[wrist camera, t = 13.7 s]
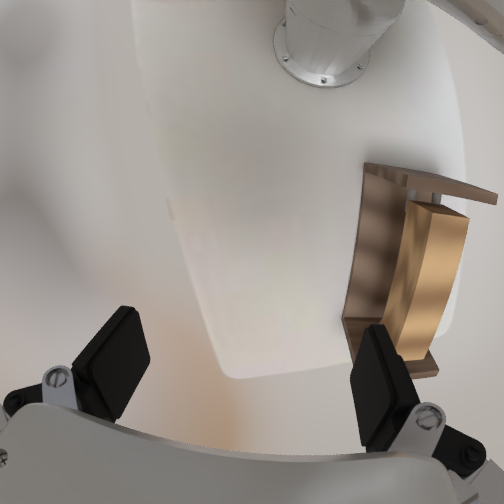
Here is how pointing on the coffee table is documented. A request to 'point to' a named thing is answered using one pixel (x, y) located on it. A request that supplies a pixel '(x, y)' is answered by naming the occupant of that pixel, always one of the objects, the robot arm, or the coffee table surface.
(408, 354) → the shelf board
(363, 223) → the shelf frame
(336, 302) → the coffee table surface
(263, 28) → the coffee table surface
